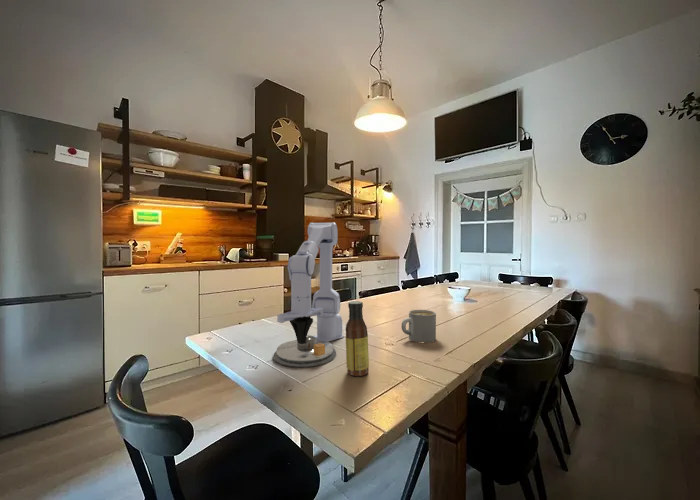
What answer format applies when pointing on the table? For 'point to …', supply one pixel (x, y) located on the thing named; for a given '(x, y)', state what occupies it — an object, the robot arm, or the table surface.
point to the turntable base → (303, 365)
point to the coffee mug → (420, 325)
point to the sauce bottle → (356, 341)
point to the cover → (307, 344)
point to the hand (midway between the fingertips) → (301, 343)
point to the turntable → (304, 352)
